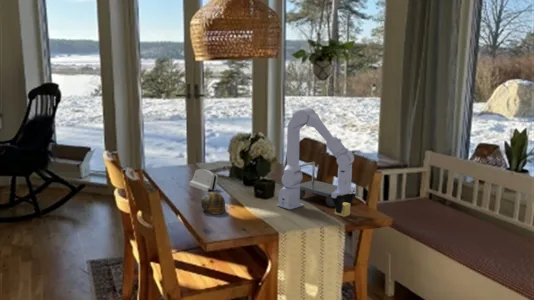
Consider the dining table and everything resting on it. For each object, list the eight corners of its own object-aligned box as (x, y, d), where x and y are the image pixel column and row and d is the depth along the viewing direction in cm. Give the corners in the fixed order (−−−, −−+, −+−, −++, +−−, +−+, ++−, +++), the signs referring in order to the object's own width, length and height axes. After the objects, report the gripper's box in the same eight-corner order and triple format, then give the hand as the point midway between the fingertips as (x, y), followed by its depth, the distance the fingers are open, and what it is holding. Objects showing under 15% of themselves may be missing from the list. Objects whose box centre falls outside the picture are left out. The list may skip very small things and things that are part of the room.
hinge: (188, 184, 254) (193, 166, 254) (195, 186, 257) (200, 167, 258) (207, 191, 242) (213, 172, 242) (214, 193, 245) (220, 174, 246)
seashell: (197, 209, 214) (197, 191, 213) (215, 206, 220) (215, 188, 218) (210, 216, 206) (210, 197, 204) (229, 212, 211) (229, 194, 210)
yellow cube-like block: (344, 216, 209) (344, 205, 208) (334, 214, 212) (335, 202, 211) (349, 214, 212) (350, 203, 211) (340, 212, 215) (340, 201, 214)
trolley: (333, 208, 220) (335, 173, 217) (293, 196, 236) (294, 164, 233) (352, 202, 230) (353, 169, 227) (312, 191, 246) (313, 160, 243)
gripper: (341, 184, 201) (340, 217, 204) (362, 179, 211) (360, 209, 214) (327, 181, 206) (326, 213, 208) (348, 176, 216) (347, 206, 219)
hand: (342, 211), depth 211 cm, fingers open, 6 cm apart
